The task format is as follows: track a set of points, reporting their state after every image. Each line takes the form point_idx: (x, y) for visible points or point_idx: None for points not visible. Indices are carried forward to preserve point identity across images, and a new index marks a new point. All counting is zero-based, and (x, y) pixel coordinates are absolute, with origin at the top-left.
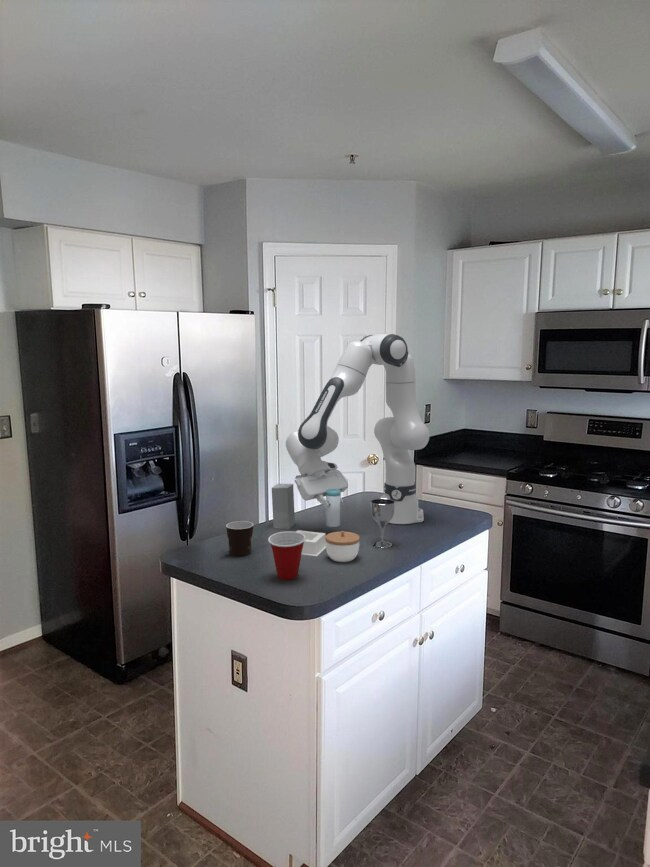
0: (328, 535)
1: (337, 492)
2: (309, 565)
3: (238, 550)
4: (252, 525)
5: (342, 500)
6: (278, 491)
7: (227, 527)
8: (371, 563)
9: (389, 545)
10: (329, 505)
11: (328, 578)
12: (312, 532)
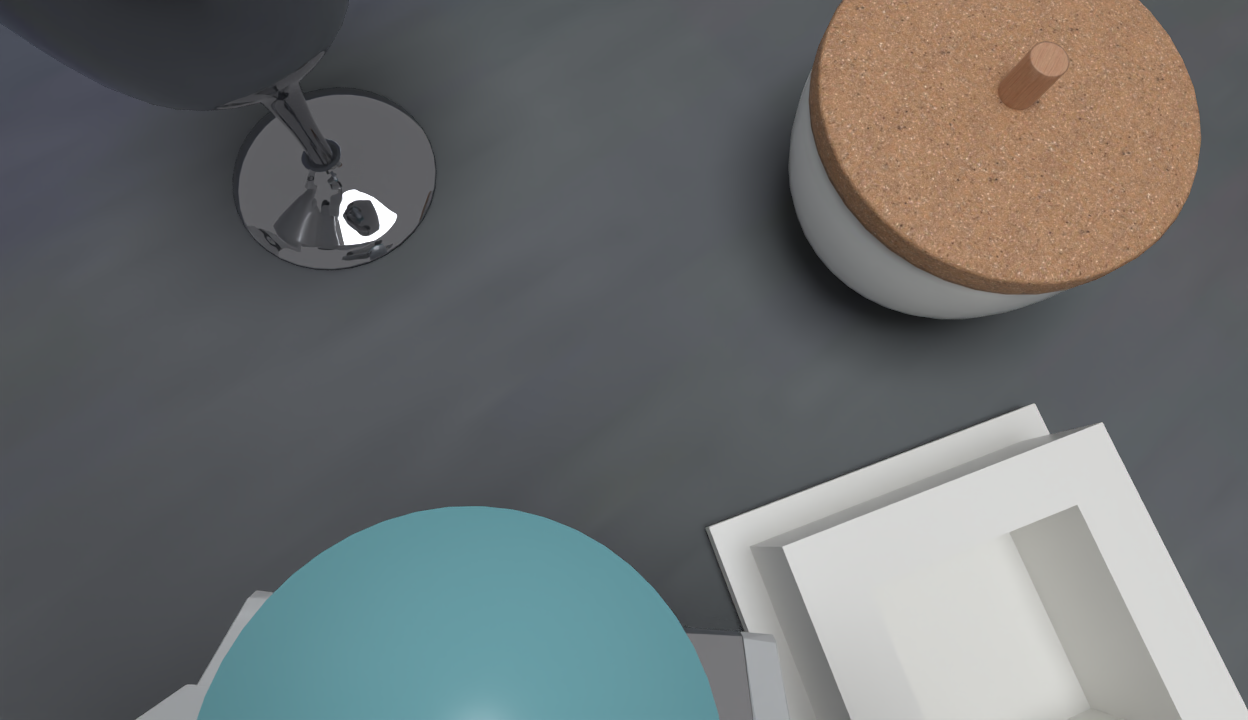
0: (1115, 229)
1: (538, 518)
2: (1173, 353)
3: None
4: None
5: (256, 603)
6: None
7: None
8: (785, 15)
9: (335, 100)
10: (706, 631)
11: (1229, 88)
12: (871, 704)
